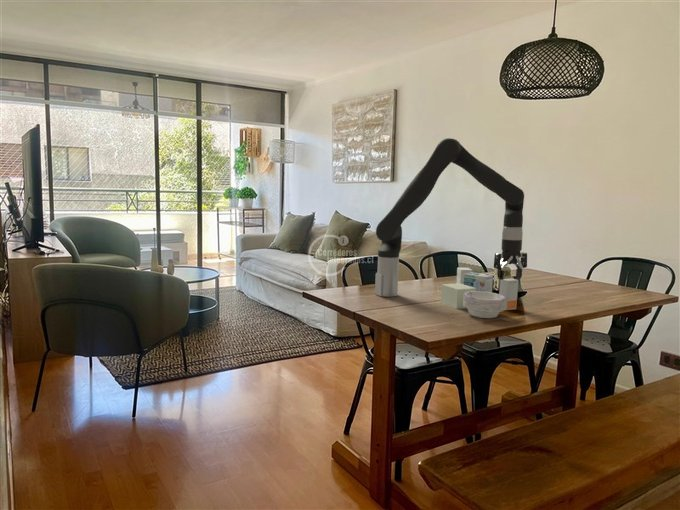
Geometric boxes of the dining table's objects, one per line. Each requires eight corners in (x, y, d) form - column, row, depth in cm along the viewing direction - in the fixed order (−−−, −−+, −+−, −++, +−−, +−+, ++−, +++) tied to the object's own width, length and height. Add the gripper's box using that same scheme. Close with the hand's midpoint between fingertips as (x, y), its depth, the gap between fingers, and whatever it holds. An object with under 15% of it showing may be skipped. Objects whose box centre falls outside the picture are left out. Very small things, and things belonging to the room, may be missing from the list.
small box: (471, 292, 228) (473, 270, 226) (459, 292, 228) (460, 269, 227) (467, 289, 236) (468, 267, 234) (456, 288, 236) (457, 267, 235)
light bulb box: (462, 297, 217) (463, 273, 215) (469, 295, 222) (471, 271, 220) (484, 301, 210) (486, 276, 208) (492, 299, 215) (493, 274, 213)
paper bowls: (512, 320, 180) (513, 298, 179) (474, 321, 177) (475, 299, 176) (491, 309, 195) (492, 290, 194) (455, 311, 192) (456, 291, 190)
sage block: (456, 309, 195) (457, 289, 194) (440, 303, 205) (441, 284, 204) (475, 307, 198) (476, 288, 197) (458, 301, 209) (459, 283, 207)
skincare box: (505, 310, 194) (507, 280, 192) (497, 308, 198) (499, 279, 196) (516, 309, 197) (519, 279, 195) (508, 307, 200) (510, 278, 199)
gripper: (503, 239, 187) (501, 281, 189) (533, 238, 192) (530, 279, 194) (491, 237, 194) (488, 278, 196) (520, 237, 199) (517, 276, 201)
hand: (509, 279), depth 195 cm, fingers open, 8 cm apart
